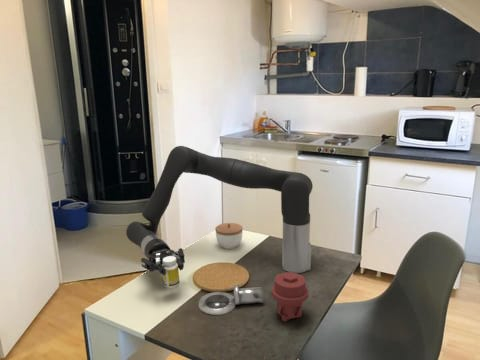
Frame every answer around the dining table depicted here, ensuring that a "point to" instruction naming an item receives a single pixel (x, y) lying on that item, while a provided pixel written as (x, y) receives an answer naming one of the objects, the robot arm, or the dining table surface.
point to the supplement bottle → (170, 272)
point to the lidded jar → (229, 235)
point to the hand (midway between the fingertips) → (173, 269)
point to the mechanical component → (289, 294)
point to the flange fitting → (229, 300)
